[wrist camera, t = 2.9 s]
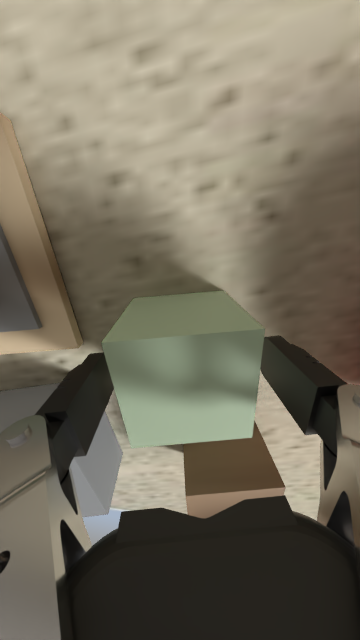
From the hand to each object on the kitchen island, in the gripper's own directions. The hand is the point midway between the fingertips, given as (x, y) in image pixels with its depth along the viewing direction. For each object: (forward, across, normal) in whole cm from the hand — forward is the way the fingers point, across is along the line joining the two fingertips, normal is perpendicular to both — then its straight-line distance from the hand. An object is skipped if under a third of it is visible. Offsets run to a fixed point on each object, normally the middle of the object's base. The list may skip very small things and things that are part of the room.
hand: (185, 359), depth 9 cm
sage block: (+2, 0, 0) cm, 2 cm away
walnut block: (+2, -2, +8) cm, 9 cm away
